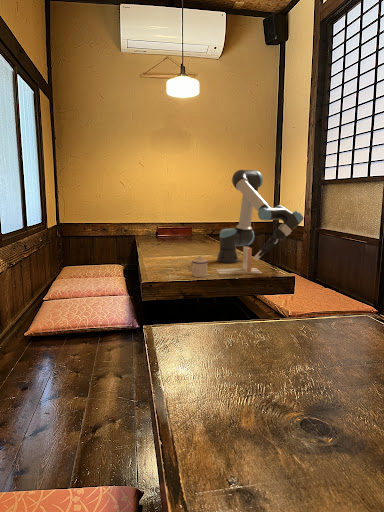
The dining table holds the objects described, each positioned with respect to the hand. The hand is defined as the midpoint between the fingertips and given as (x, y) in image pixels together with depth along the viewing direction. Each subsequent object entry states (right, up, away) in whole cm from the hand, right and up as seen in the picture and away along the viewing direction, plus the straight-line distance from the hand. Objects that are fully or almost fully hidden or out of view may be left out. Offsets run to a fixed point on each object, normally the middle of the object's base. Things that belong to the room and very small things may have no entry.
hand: (254, 259), depth 226 cm
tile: (-5, -7, +1) cm, 8 cm away
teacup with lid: (-36, -10, -11) cm, 39 cm away
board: (-11, -8, +1) cm, 13 cm away
